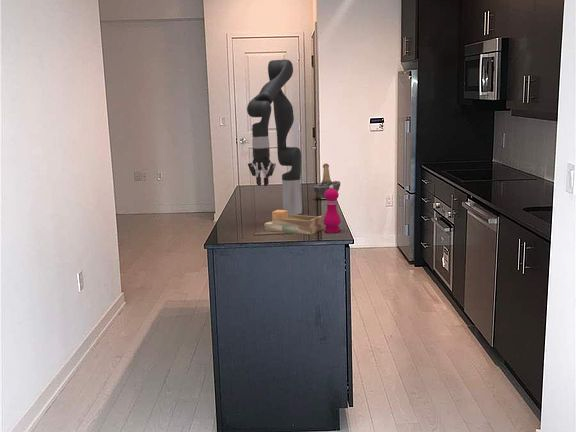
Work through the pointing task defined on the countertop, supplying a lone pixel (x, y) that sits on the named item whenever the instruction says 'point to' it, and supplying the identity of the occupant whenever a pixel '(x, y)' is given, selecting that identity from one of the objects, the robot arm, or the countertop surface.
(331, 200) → the pepper mill
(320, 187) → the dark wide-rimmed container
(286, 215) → the block
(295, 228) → the cream tray
